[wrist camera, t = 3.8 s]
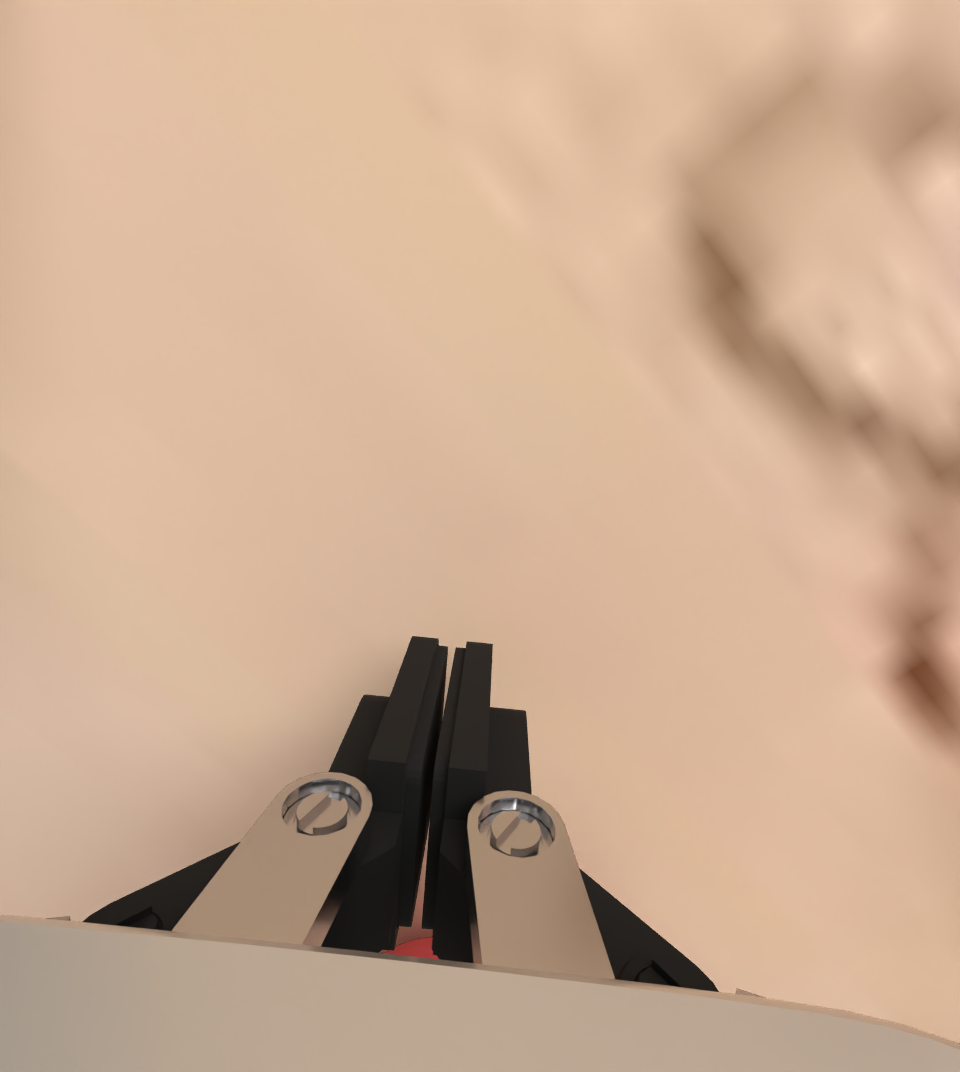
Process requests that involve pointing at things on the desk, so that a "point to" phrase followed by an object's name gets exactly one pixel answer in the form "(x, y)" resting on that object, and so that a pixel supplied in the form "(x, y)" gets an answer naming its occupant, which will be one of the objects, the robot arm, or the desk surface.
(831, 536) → the desk surface
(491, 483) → the desk surface
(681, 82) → the desk surface
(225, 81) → the desk surface
